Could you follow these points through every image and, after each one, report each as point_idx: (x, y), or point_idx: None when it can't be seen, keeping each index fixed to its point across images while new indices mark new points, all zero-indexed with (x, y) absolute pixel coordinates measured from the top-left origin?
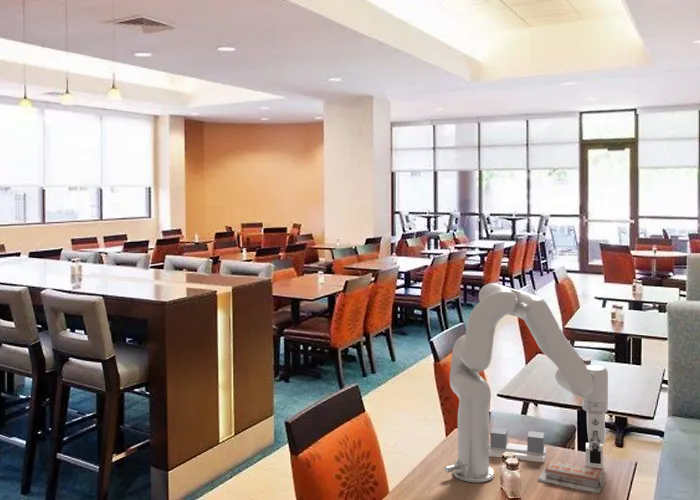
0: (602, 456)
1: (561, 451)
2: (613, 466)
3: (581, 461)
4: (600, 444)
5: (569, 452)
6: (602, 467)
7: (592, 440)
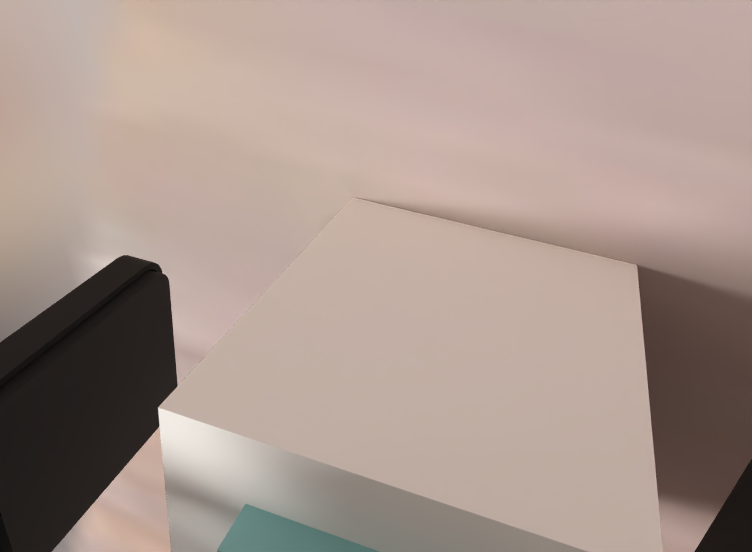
0: (651, 428)
1: (151, 540)
2: (524, 27)
3: None
4: (186, 459)
5: (148, 485)
6: (634, 274)
7: (26, 535)
